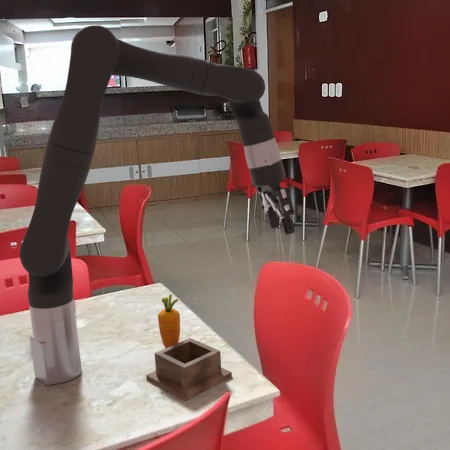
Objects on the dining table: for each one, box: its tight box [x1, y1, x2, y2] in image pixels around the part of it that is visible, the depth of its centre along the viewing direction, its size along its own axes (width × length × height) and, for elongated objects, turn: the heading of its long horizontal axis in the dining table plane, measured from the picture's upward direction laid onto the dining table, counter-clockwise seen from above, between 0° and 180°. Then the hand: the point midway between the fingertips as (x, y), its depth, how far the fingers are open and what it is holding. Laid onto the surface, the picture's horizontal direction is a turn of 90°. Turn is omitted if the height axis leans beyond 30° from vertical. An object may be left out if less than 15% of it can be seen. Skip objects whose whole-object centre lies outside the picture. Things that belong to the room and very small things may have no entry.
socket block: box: [145, 337, 233, 402], centre depth 117 cm, size 13×13×6 cm
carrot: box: [157, 294, 181, 349], centre depth 126 cm, size 5×5×15 cm
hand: (282, 230), depth 124 cm, fingers open, 8 cm apart
